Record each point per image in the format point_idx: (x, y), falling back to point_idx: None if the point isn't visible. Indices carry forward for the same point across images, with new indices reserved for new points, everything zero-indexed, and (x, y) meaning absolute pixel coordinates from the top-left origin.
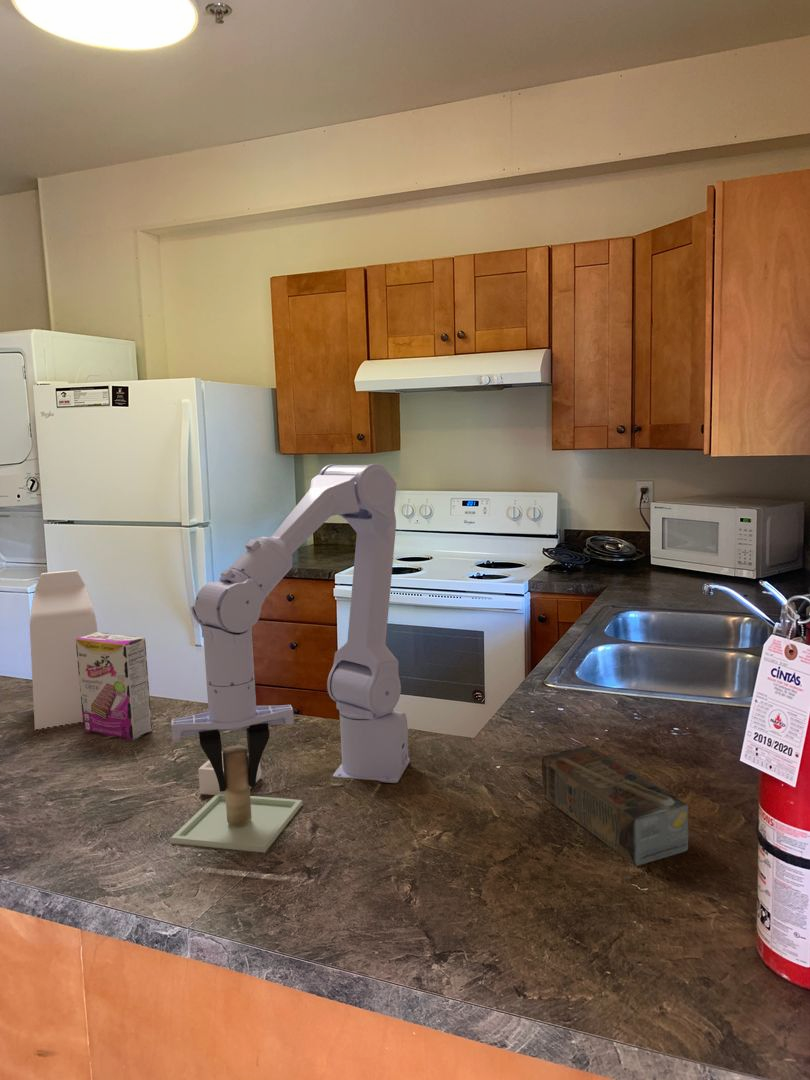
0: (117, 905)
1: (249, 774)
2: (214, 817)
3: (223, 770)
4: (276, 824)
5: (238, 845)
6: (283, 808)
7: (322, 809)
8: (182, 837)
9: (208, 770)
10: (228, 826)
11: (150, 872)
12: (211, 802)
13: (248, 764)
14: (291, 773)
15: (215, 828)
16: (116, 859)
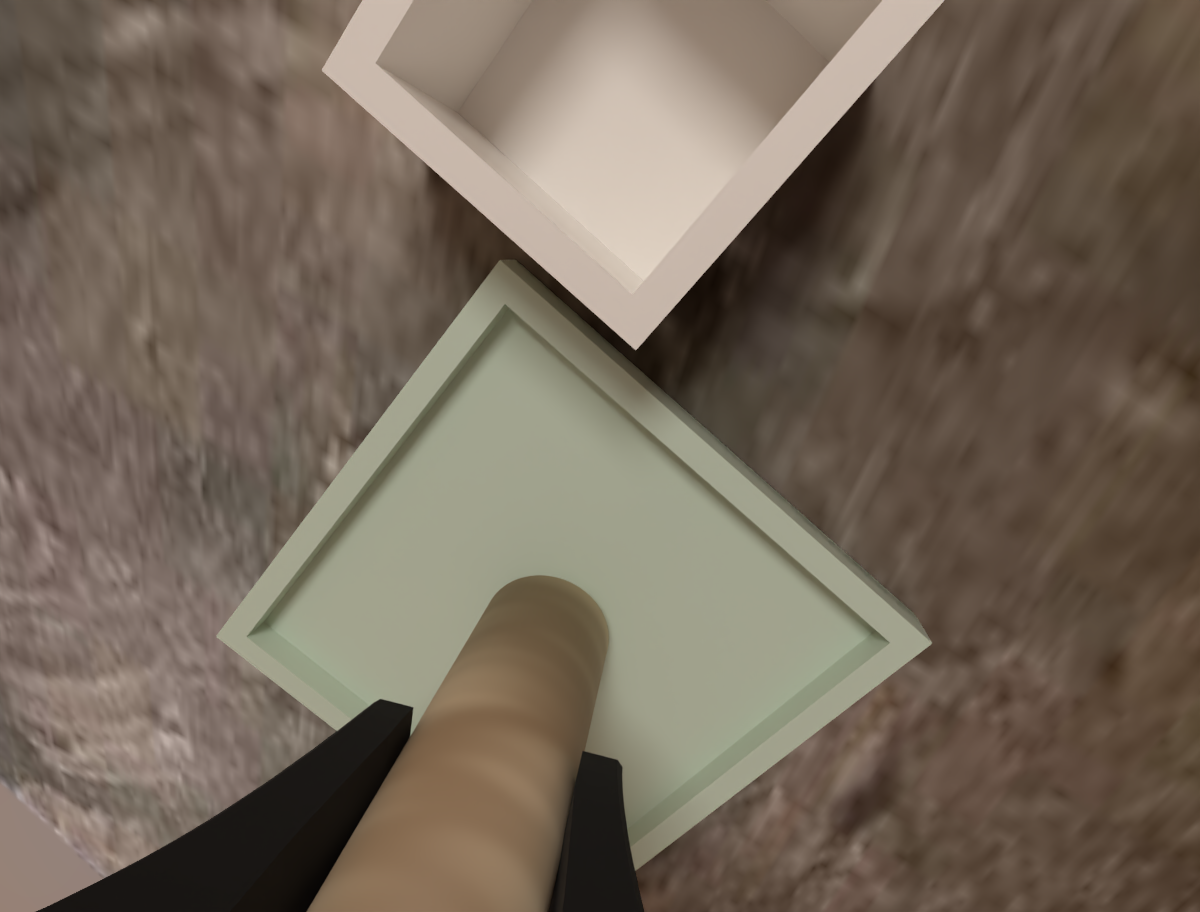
0: (87, 850)
1: (550, 907)
2: (447, 493)
3: (514, 240)
4: (707, 730)
5: None
6: (810, 603)
7: (1006, 674)
8: (265, 663)
9: (404, 143)
10: None
11: (173, 737)
12: (441, 378)
13: (562, 872)
14: (1149, 45)
15: (432, 605)
16: (42, 580)
